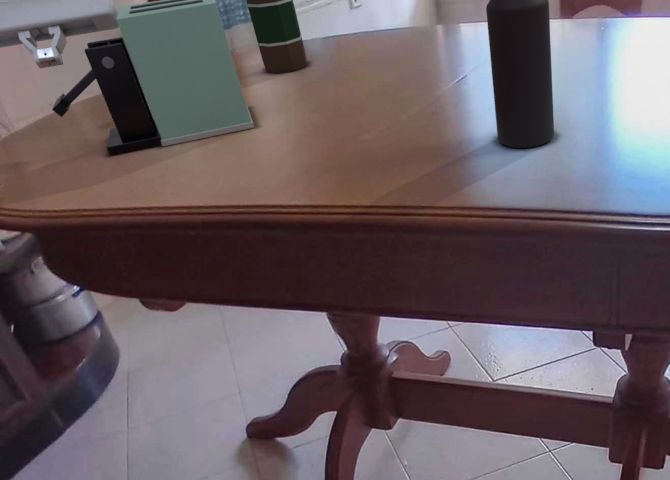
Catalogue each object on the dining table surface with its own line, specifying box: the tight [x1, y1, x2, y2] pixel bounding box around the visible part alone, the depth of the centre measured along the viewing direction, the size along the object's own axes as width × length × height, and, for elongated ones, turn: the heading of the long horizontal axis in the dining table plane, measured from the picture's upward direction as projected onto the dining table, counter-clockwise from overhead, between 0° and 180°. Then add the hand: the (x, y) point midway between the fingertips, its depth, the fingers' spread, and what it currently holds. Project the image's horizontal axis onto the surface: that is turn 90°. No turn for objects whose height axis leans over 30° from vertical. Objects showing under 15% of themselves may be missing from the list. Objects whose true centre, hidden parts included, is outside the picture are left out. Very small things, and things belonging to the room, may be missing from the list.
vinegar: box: [485, 0, 555, 149], centre depth 78 cm, size 7×7×20 cm
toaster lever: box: [51, 42, 111, 118], centre depth 92 cm, size 11×5×2 cm
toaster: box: [116, 0, 255, 147], centre depth 96 cm, size 12×10×16 cm
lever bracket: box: [84, 36, 162, 157], centre depth 95 cm, size 8×9×13 cm
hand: (49, 64), depth 93 cm, fingers closed
